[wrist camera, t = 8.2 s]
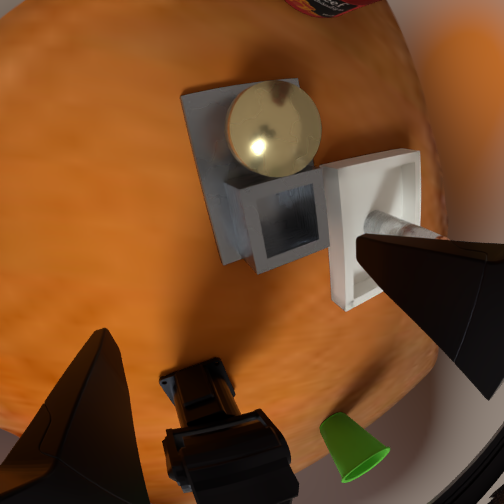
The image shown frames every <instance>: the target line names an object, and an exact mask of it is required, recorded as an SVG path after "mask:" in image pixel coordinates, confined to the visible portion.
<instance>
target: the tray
mask: <svg viewBox="0 0 504 504" xmlns="http://www.w3.org/2000/svg"><path fill="white" fill-rule="evenodd" d="M319 167H321V168H322V173H323V181H324V189H325V198H326V207H327V217H328V228H329V239H330V247H328V251H329V264H330V279H331V298H332V301H334V302H335V303H336V304H337V305H338V306H339V307H341V308H342V309H343V310H344V311H345V312H346V311H348V310H350V309H352V308H354V307H356V306H357V305H359V304H361V303H363V302H365V301H367V300H369V299H370V298H372V297H374V296H376V295H377V294H379V293H381V292H383V290H382V289H381V288H380V287H379V286H378V285H377V284H376V283H375V282H374V280H373V279H372V278H371V277H370V276H369V275H368V274H367V272H366V271H365V270H364V269H363V268H362V267H361V266H360V264H359V263H358V262H357V259H356V238H357V237H358V236H360V235H362V234H364V229H363V226H364V222H365V219H366V217H367V215H368V214H369V213H370V212H372V211H373V210H379V211H382V212H385V213H387V214H390V215H393V216H395V217H398V218H400V219H403V220H405V221H408V222H410V223H413V224H415V225H418V226H420V217H421V164H420V151H417V150H411V149H405V148H399V149H394V150H389V151H383V152H378V153H373V154H368V155H363V156H358V157H354V158H349V159H344V160H340V161H335V162H331V163H327V164H322V165H319Z"/></svg>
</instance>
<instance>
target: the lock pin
mask: <svg viewBox="0 0 504 504" xmlns="http://www.w3.org/2000/svg"><path fill="white" fill-rule="evenodd" d="M363 229H364V234H365V233H369V234H382V235H395V236H408V237H420V238H431V239H442V240H449V239H448V238H446V237H444V236H441V235H439V234H437V233H434V232H432V231H430V230H427V229H425V228H423V227H420V226H418V225H415V224H413V223H410V222H408V221H405V220H403V219H400V218H398V217H395V216H393V215H390V214H387V213H385V212H382V211H379V210H373V211H372V212H370V213H369V214H368V215H367V217H366V219H365V222H364V226H363ZM449 241H450V240H449Z"/></svg>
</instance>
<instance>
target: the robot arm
mask: <svg viewBox="0 0 504 504" xmlns="http://www.w3.org/2000/svg"><path fill="white" fill-rule="evenodd" d="M356 259H357V262H358V263H359V264H360V266H361V267H362V268H363V269H364V270H365V271H366V272H367V274H368V275H369V276H370V277H371V278H372V279H373V280H374V282H375V283H376V284H377V285H378V286H379V287H380V288H381V289H382V290H383V291H384V292H385V293H386V294H387V295H388V296H389V297H390V298H391V299H392V300H393V301H394V302H395V303H396V304H397V305H398V306H399V307H400V308H401V309H402V310H403V311H404V312H405V313H406V314H407V315H408V316H409V317H410V318H411V319H412V320H413V321H414V322H415V323H416V324H417V325H418V326H419V327H420V328H421V329H422V330H423V331H424V332H425V333H426V334H427V335H428V336H429V337H430V338H431V339H432V340H433V341H434V342H435V343H436V344H437V345H438V346H439V347H440V348H441V349H442V350H443V351H444V352H445V354H447V356H448V357H449V358H450V359H451V360H452V361H453V362H454V363H455V364H456V366H457V367H458V368H459V369H460V370H461V371H462V372H463V373H464V374H465V375H466V377H467V378H468V379H469V380H470V381H471V382H472V383H473V384H474V386H475V387H476V388H477V389H478V390H479V391H480V392H481V394H482V395H483V396H484V397H485V398H486V399H487V400H488V401H489V400H490V399H491V398H492V397H493V395H494V394H495V392H496V391H497V390H498V389H499V387H500V386H501V385H502V383H503V382H504V244H497V243H478V242H465V241H454V240H450V241H449V240H442V239H431V238H420V237H408V236H395V235H382V234H369V233H365V234H362V235H360V236H358V237H357V238H356ZM216 362H218V363H216ZM163 381H165V382H163ZM159 383H160V385H161V387H162V388H163V390H164V391H165V393H166V394H167V396H168V397H169V399H170V400H171V401H172V403H173V404H174V406H175V407H176V411H177V415H178V418H179V422H180V426H181V428H177V429H172V428H171V429H166V434H167V436H166V437H165V439H164V440H163V441H162V443H163V447H164V452H165V456H166V465H167V472H168V476H169V478H171V479H172V480H174V481H176V482H177V483H178V485H179V486H181V488H182V490H183V492H184V493H187V492H193V494H194V497H195V500H196V502H197V504H292V499H293V498H295V497H297V496H298V492H299V482H298V481H297V479H296V477H295V475H294V473H293V471H292V469H291V467H290V465H289V464H290V463H291V455H290V450H289V447H288V445H287V442H286V440H285V438H284V437H283V435H282V433H281V432H280V431H279V430H278V428H277V427H276V426H275V425H274V424H273V423H272V422H271V420H270V419H269V418H268V417H267V416H266V414H265V413H264V412H263V411H262V410H261V409H256V410H254V411H253V412H249V413H245V414H242V415H241V413H240V411H239V409H238V406H237V404H236V402H235V400H234V398H233V397H234V396H235V392H234V390H233V387H232V385H231V383H230V380H229V378H228V375H227V373H226V371H225V368H224V366H223V363H222V361H221V359H220V358H213V359H211V360H208V361H205V362H203V363H200V364H197V365H194V366H192V367H189V368H186V369H183V370H180V371H178V372H175V373H172V374H169V375H166V376H163V377H161V378H160V379H159ZM503 472H504V422H503V424H502V425H501V426H500V428H499V429H498V430H497V432H496V433H495V434H494V436H493V437H492V438H491V439H490V441H489V442H488V443H487V444H486V445H485V447H484V448H483V449H482V450H481V451H480V452H479V454H478V455H477V456H476V457H475V458H474V459H473V460H472V461H471V463H470V464H469V465H468V466H467V467H466V468H465V469H464V470H463V471H462V472H461V473H460V474H459V475H458V476H457V477H456V478H455V479H454V480H453V481H452V482H451V483H450V484H449V485H448V486H447V487H446V488H445V489H443V490H442V491H441V492H440V493H439V494H438V495H437V496H436V497H434V498H433V499H432V500H431V501H430V502H429V503H427V504H477V502H478V501H479V500H480V499H481V498H482V497H483V496H484V495H485V494H486V492H487V491H488V490H489V489H490V488H491V486H493V484H494V483H495V482H496V481H497V479H498V478H499V477H500V476H501V474H502V473H503ZM489 498H490V499H491V501H490V502H489V503H488V504H504V484H503V485H502V486H501V487H500V488H499V489H497V490H496V491H495V492H494V493H493V494H492V495H491V496H490V497H489ZM0 504H150V501H149V497H148V493H147V489H146V485H145V481H144V477H143V473H142V468H141V463H140V459H139V454H138V448H137V443H136V437H135V431H134V425H133V418H132V411H131V404H130V396H129V390H128V386H127V381H126V377H125V372H124V368H123V363H122V358H121V353H120V350H119V347H118V346H117V344H116V342H115V340H114V339H113V337H112V335H111V334H110V332H109V330H108V329H107V328H102V329H99V330H96V331H94V333H93V334H92V335H91V337H90V338H89V339H88V341H87V342H86V343H85V345H84V346H83V347H82V349H81V350H80V351H79V353H78V354H77V356H76V357H75V358H74V360H73V361H72V362H71V364H70V365H69V367H68V368H67V369H66V371H65V372H64V374H63V375H62V377H61V378H60V379H59V381H58V382H57V384H56V385H55V387H54V388H53V390H52V391H51V393H50V394H49V396H48V397H47V399H46V400H45V404H43V405H42V406H41V408H40V409H39V411H38V412H37V414H36V415H35V417H34V419H33V420H32V422H31V423H30V424H29V426H28V427H27V429H26V430H25V432H24V433H23V434H22V436H21V437H20V439H19V440H18V441H17V443H16V444H15V446H14V447H13V448H12V450H11V451H10V453H9V454H8V455H7V457H6V459H5V460H4V461H3V463H2V464H1V465H0Z"/></svg>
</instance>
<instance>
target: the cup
mask: <svg viewBox="0 0 504 504" xmlns="http://www.w3.org/2000/svg"><path fill="white" fill-rule="evenodd" d="M320 433H321V435H322V437H323V439H324V441H325V443H326V445H327V448H328V450H329V452H330V454H331V456H332V458H333V460H334V462H335V464H336V466H337V468H338V470H339V473H340V475H341V477H342V482H343V483H346V482H349V481H351V480H354V479H356V478H358V477H360V476H361V475H363V474H364V473H366V472H367V471H369V470H370V469H372V468H373V467H374V466H376V465H377V464H378V463H379V462H380V461H381V460H382V459H383V458H384V457H385V456H386V455H387V454H388V453H389V451H390V447H386V446H384V445H383V444H382V443H380V442H379V441H378V440H377V439H376V438H374V437H373V436H372V435H371V434H369V433H368V432H367V431H366V430H364V429H363V428H362V427H361V426H360V425H358V424H357V423H356V422H355V421H353V420H352V419H351V418H350V417H349V416H347V415H346V414H345V413H342V412H339V413H336V414H334V415H332V416H330V417H329V418H327V419H326V420H325V421H324V422H323V423H322V424H321V426H320Z"/></svg>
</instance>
